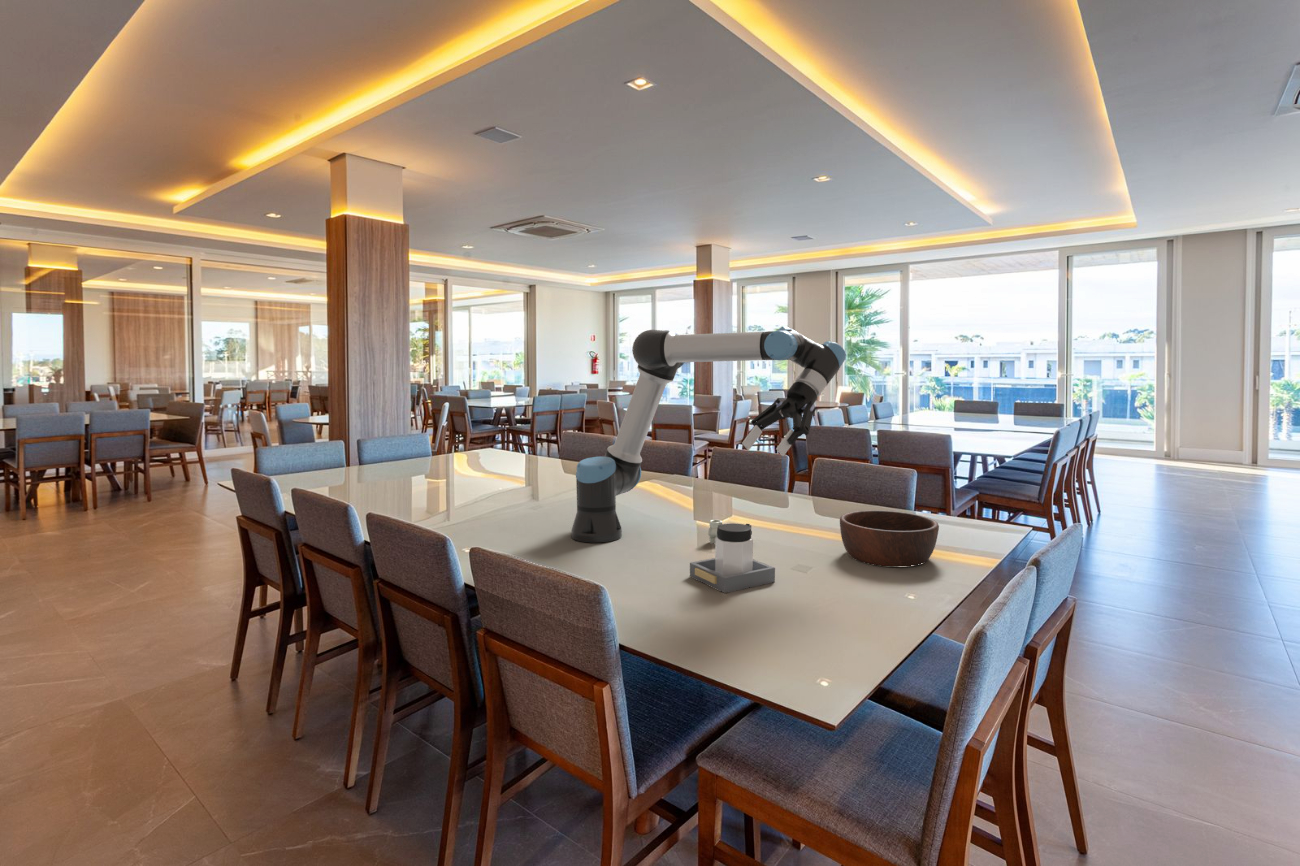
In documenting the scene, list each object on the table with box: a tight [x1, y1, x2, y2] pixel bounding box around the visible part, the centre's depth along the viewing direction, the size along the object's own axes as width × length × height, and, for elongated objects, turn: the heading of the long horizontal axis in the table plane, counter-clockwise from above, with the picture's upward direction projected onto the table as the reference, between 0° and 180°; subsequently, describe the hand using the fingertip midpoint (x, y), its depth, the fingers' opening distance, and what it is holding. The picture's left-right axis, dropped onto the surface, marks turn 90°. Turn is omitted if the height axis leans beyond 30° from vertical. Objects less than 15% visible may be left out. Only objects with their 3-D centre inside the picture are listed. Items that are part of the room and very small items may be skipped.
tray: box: [689, 557, 776, 594], centre depth 164 cm, size 14×16×4 cm
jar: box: [714, 522, 754, 576], centre depth 163 cm, size 9×8×12 cm
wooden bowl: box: [839, 509, 940, 567], centre depth 182 cm, size 25×25×10 cm
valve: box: [708, 519, 753, 544], centre depth 196 cm, size 7×7×12 cm
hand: (761, 449), depth 176 cm, fingers open, 13 cm apart
